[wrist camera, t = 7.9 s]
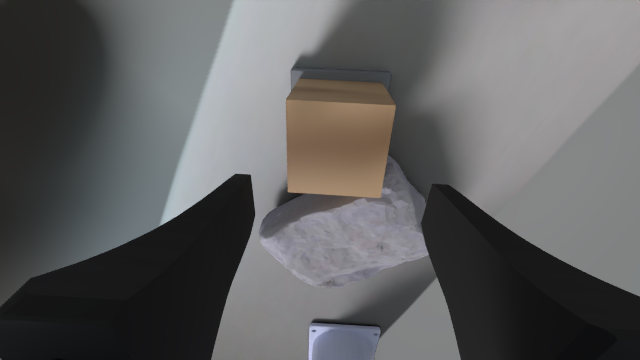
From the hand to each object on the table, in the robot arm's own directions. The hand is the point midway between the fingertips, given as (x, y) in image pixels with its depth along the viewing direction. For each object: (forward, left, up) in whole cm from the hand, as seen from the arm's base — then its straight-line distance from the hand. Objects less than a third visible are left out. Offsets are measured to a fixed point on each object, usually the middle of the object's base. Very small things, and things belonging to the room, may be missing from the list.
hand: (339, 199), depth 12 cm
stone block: (-9, -2, -9) cm, 13 cm away
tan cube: (0, 0, -8) cm, 8 cm away
